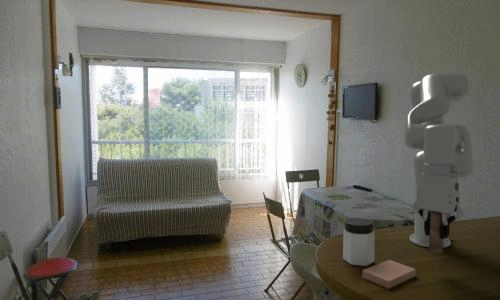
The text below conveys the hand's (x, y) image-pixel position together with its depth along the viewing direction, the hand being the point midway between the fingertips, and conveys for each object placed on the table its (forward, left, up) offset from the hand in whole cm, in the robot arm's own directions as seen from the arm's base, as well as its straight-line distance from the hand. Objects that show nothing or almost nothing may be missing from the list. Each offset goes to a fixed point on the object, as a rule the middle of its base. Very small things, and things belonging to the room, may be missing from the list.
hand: (436, 235), depth 99 cm
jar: (+10, -18, -10) cm, 23 cm away
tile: (+7, -6, -9) cm, 13 cm away
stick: (0, 0, -4) cm, 4 cm away
